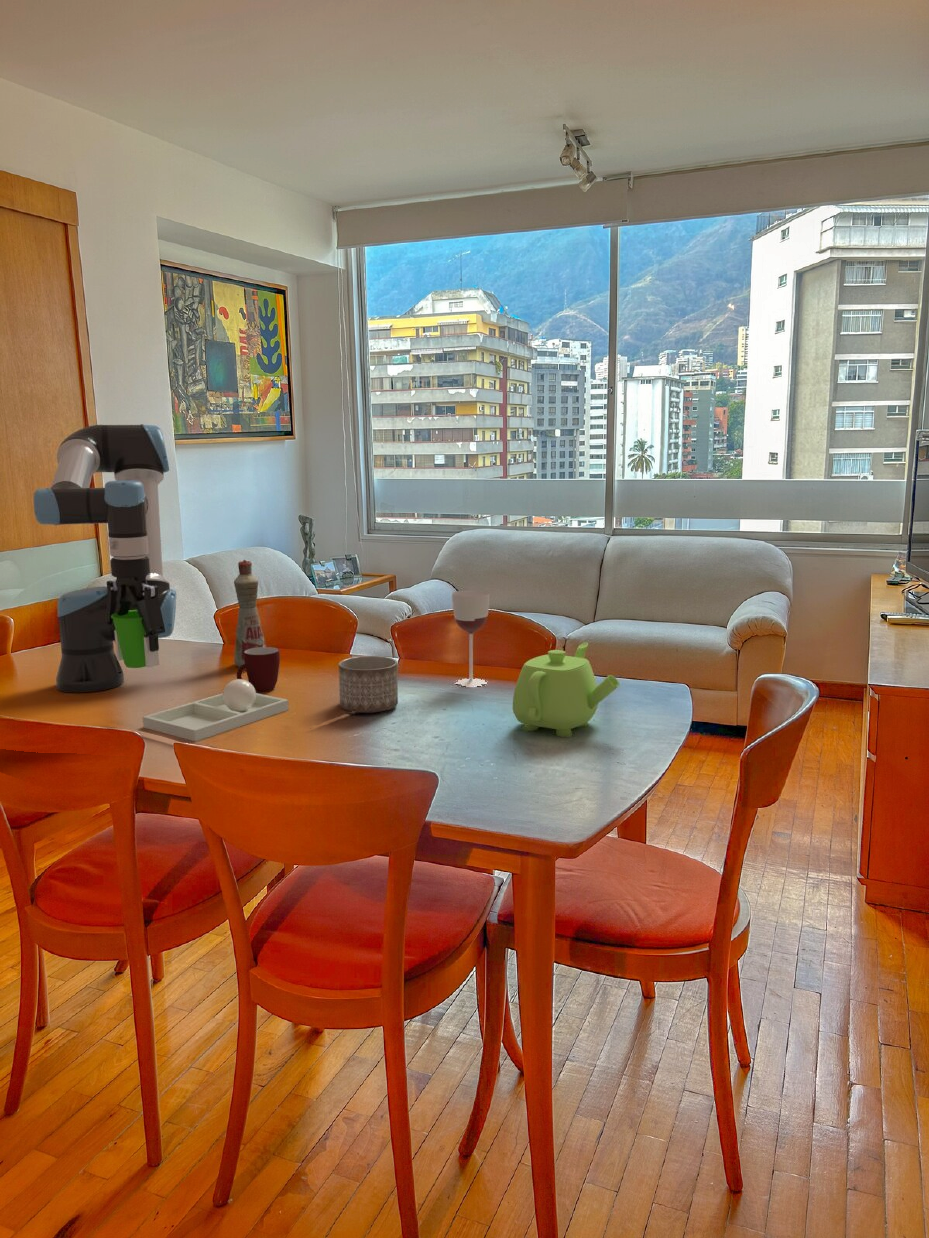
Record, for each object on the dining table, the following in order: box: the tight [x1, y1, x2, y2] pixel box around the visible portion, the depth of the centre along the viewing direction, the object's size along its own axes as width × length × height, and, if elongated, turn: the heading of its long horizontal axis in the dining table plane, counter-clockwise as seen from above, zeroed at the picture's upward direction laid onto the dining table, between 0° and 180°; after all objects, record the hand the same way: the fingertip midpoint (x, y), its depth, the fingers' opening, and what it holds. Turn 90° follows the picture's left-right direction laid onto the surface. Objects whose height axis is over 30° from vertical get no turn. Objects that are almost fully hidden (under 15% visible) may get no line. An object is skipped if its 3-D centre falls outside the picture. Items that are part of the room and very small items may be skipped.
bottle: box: [233, 559, 267, 669], centre depth 233 cm, size 9×9×28 cm
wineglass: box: [451, 589, 490, 688], centre depth 216 cm, size 9×10×22 cm
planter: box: [338, 655, 399, 714], centre depth 197 cm, size 13×13×10 cm
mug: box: [236, 646, 281, 693], centre depth 208 cm, size 10×8×10 cm
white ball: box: [221, 678, 257, 712], centre depth 192 cm, size 7×7×7 cm
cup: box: [111, 610, 151, 669], centre depth 188 cm, size 9×9×11 cm
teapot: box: [512, 642, 620, 738], centre depth 183 cm, size 25×22×16 cm
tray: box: [142, 692, 290, 743], centre depth 188 cm, size 16×25×3 cm, turn 146°
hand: (137, 662), depth 190 cm, fingers closed on cup, 9 cm apart
